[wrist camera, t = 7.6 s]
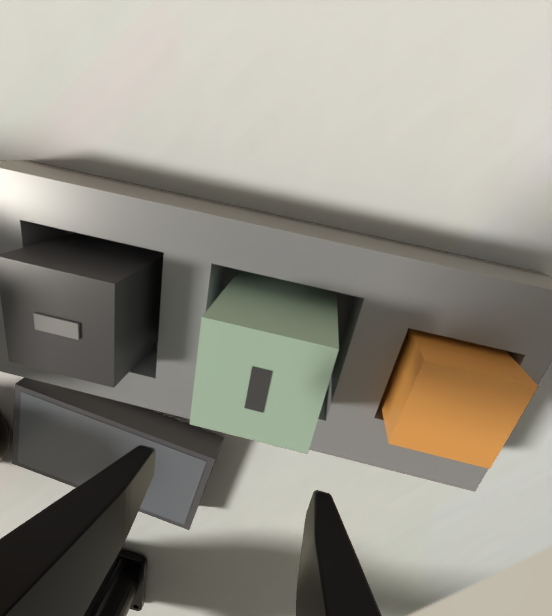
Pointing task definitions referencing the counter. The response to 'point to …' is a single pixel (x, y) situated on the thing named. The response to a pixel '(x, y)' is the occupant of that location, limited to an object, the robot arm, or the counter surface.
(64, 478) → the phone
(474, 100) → the counter surface
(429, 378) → the power button
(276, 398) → the cube
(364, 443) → the power strip
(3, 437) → the supplement bottle
